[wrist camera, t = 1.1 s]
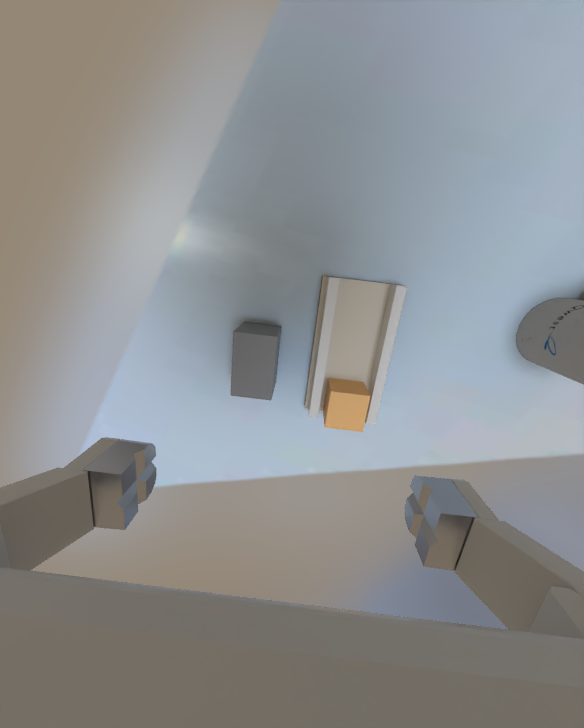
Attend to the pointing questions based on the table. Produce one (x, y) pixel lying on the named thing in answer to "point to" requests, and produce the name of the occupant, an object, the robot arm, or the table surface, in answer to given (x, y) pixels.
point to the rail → (352, 350)
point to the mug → (555, 337)
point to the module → (255, 360)
